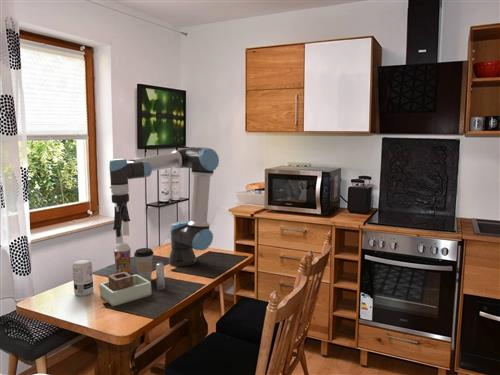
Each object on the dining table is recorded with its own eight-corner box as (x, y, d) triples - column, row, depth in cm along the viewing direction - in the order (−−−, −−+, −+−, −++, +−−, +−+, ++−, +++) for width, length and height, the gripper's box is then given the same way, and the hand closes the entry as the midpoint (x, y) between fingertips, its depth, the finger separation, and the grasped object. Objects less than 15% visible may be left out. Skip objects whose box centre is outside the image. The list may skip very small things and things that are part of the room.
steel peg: (162, 286, 198) (161, 262, 196) (166, 288, 195) (165, 264, 193) (155, 288, 195) (154, 263, 194) (159, 290, 193) (158, 265, 191)
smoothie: (119, 278, 209) (117, 239, 206) (112, 274, 215) (110, 236, 212) (134, 274, 214) (132, 236, 211) (127, 270, 220) (125, 233, 217)
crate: (137, 286, 198) (136, 274, 197) (151, 294, 188) (150, 282, 187) (100, 296, 186) (99, 283, 186) (113, 306, 176) (112, 292, 175)
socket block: (126, 291, 191) (125, 271, 190) (134, 297, 185) (132, 276, 184) (109, 296, 186) (108, 275, 185) (116, 302, 180) (115, 280, 179)
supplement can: (74, 291, 193) (72, 260, 190) (93, 288, 196) (91, 257, 194) (74, 297, 185) (72, 265, 183) (94, 294, 188) (92, 263, 186)
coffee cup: (149, 283, 202) (148, 253, 199) (131, 282, 204) (130, 252, 201) (157, 276, 211) (156, 248, 209) (140, 275, 213) (139, 247, 210)
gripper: (117, 189, 198) (120, 232, 201) (104, 198, 173) (107, 247, 176) (133, 188, 198) (136, 232, 202) (122, 198, 174) (125, 246, 177)
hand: (123, 239), depth 189 cm, fingers open, 13 cm apart
